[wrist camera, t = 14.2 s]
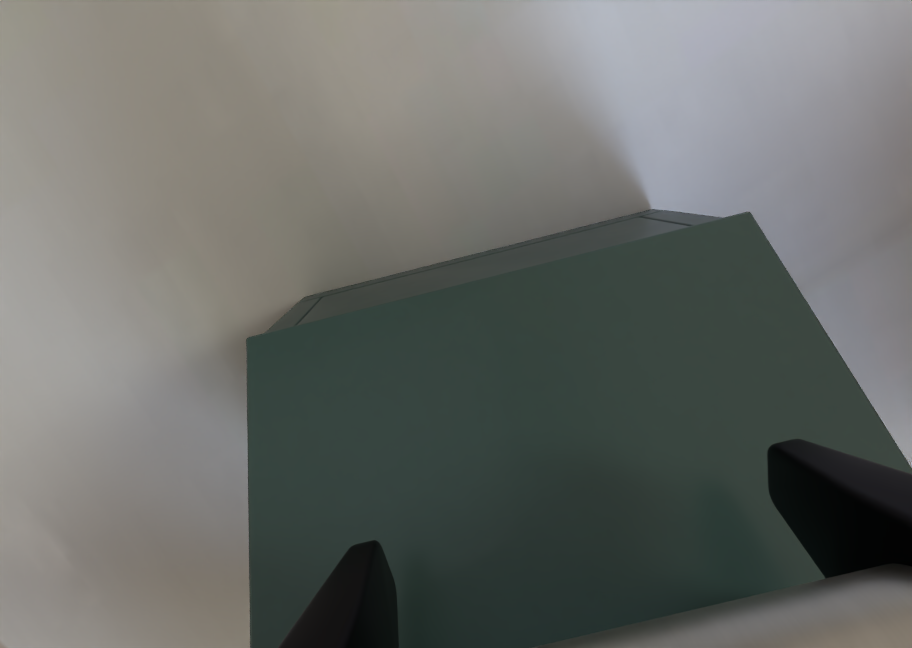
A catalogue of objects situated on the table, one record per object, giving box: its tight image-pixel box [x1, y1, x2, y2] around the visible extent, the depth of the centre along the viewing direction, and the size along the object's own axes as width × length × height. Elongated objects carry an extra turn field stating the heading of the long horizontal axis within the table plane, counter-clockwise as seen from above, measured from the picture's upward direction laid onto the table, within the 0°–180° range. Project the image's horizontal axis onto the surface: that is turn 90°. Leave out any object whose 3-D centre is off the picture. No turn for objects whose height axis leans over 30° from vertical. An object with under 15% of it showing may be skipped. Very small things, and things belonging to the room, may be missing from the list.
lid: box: [246, 212, 912, 648], centre depth 8 cm, size 9×12×4 cm
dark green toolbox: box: [265, 209, 721, 333], centre depth 15 cm, size 9×12×4 cm
